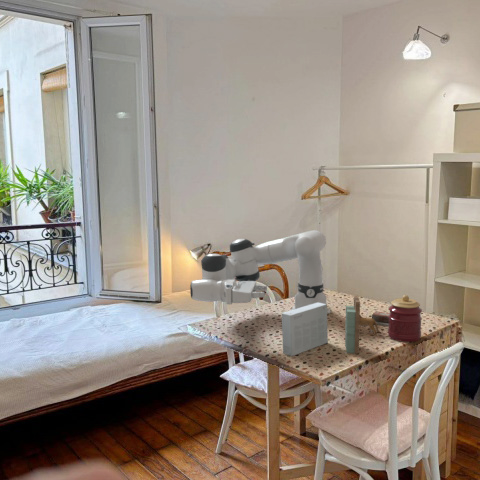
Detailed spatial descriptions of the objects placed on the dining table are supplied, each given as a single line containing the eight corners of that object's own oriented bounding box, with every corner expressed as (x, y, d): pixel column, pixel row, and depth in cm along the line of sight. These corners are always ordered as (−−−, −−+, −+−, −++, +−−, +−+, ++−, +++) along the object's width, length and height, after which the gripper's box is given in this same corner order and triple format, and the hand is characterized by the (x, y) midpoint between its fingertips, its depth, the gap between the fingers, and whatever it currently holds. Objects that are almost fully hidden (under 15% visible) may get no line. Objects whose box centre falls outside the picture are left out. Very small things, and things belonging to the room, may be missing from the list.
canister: (390, 342, 202) (391, 299, 199) (385, 331, 214) (386, 290, 212) (424, 343, 200) (425, 299, 197) (417, 332, 212) (419, 291, 210)
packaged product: (369, 314, 224) (375, 308, 232) (369, 325, 224) (375, 319, 233) (411, 320, 214) (416, 314, 223) (411, 331, 215) (416, 324, 224)
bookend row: (345, 344, 199) (345, 295, 196) (356, 345, 199) (357, 295, 196) (346, 353, 190) (347, 301, 187) (358, 353, 190) (360, 302, 187)
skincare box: (317, 339, 206) (318, 301, 203) (328, 343, 202) (328, 304, 199) (281, 352, 192) (281, 312, 190) (291, 356, 188) (291, 315, 186)
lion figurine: (345, 332, 213) (345, 312, 212) (347, 328, 218) (347, 308, 217) (380, 336, 208) (381, 315, 206) (382, 332, 213) (383, 312, 211)
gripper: (234, 292, 208) (268, 292, 206) (226, 305, 188) (263, 306, 186) (234, 277, 207) (268, 277, 205) (225, 289, 187) (263, 289, 185)
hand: (265, 291), depth 195 cm, fingers open, 8 cm apart
